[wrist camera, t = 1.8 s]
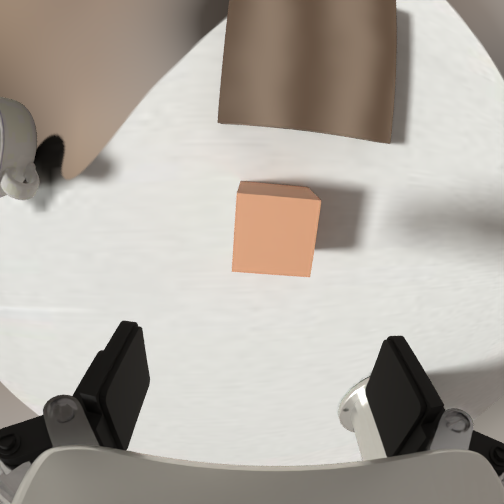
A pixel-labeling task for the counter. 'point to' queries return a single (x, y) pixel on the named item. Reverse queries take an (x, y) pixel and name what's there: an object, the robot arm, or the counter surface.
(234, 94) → the walnut base
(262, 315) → the counter surface
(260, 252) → the terracotta cube
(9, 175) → the teacup
